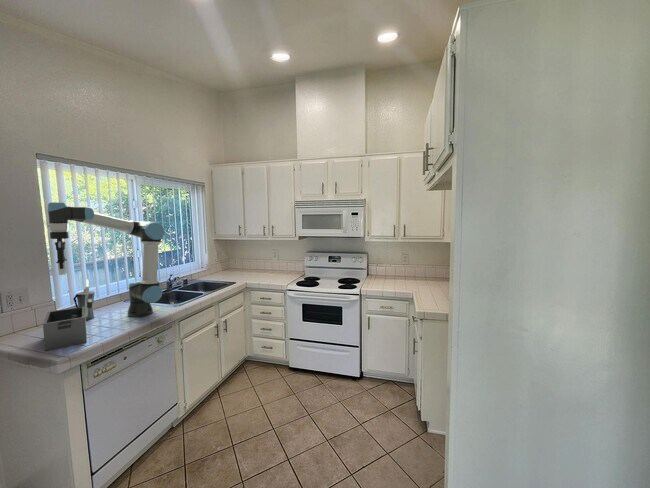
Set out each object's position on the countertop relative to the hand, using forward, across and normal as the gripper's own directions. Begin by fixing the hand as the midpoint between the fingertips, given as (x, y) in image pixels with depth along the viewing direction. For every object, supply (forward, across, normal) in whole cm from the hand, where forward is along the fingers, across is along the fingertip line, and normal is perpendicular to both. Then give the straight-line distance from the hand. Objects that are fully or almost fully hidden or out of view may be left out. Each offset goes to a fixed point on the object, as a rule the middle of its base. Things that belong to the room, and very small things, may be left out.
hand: (62, 273), depth 162 cm
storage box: (+37, +2, 0) cm, 37 cm away
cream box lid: (+14, +4, +9) cm, 17 cm away
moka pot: (+37, -36, +8) cm, 52 cm away
